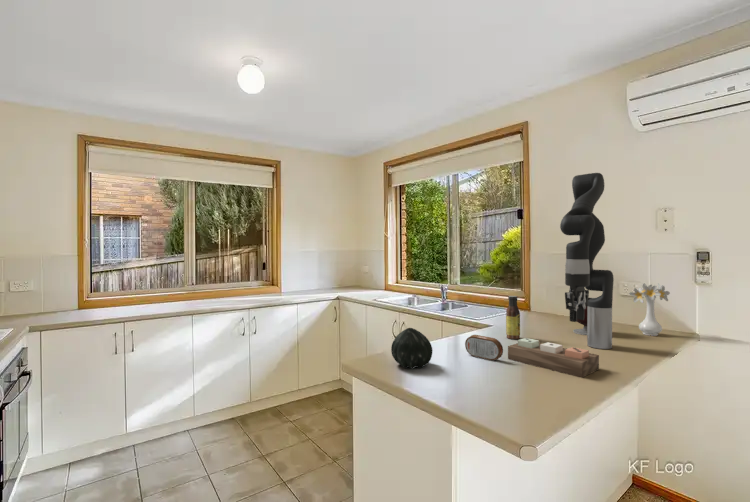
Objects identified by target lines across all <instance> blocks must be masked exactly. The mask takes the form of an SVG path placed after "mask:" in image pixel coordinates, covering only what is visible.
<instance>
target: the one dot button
mask: <svg viewBox="0 0 750 502" xmlns="http://www.w3.org/2000/svg"><path fill="white" fill-rule="evenodd" d="M563 348H564V346H563V344H558V343H553V342H548V341H547V342H545V343H542V344H541V345H540V350H541V351H546V352H550V353H555V354H556V353H559V352H562V351H563Z"/></svg>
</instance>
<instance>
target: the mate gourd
mask: <svg viewBox="0 0 750 502" xmlns="http://www.w3.org/2000/svg"><path fill="white" fill-rule="evenodd" d="M592 298H593V297H590V296H589V297H588V300H589V299H592ZM574 302H575V301H574ZM577 309H579V308H577ZM587 314H588V313H587V307H586V308H585V311H584V320H580V319H577V322H576V323H578V324H581V325H582V326H583V327H582V328H576V329H575V328H574V329H573V330H572V331H573V333H574V334H576V335H577V334H578V335H583V336H587Z"/></svg>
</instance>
